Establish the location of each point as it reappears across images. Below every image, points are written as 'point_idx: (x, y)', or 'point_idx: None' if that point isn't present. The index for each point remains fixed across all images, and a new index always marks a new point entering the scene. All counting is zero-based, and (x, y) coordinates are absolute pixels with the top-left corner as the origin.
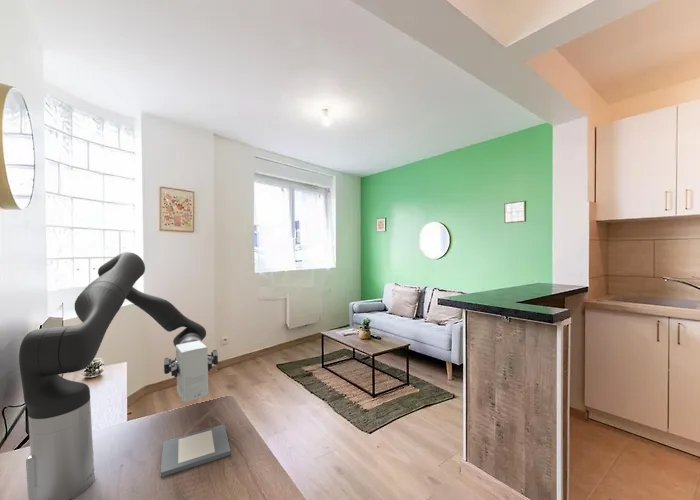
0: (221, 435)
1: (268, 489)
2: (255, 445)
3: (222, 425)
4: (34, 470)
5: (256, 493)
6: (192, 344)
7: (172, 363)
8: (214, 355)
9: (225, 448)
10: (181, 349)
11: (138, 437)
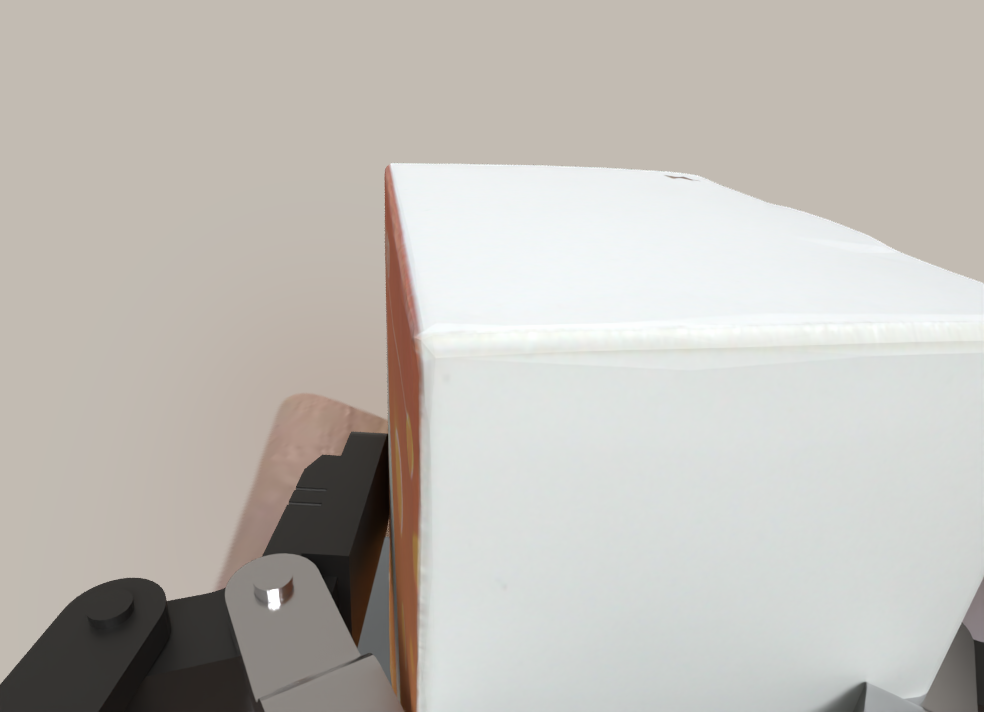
0: (366, 651)
1: (333, 410)
2: (253, 552)
3: None
4: None
5: (365, 413)
6: (615, 225)
7: (966, 646)
8: (121, 632)
9: (382, 556)
10: (752, 199)
11: None
